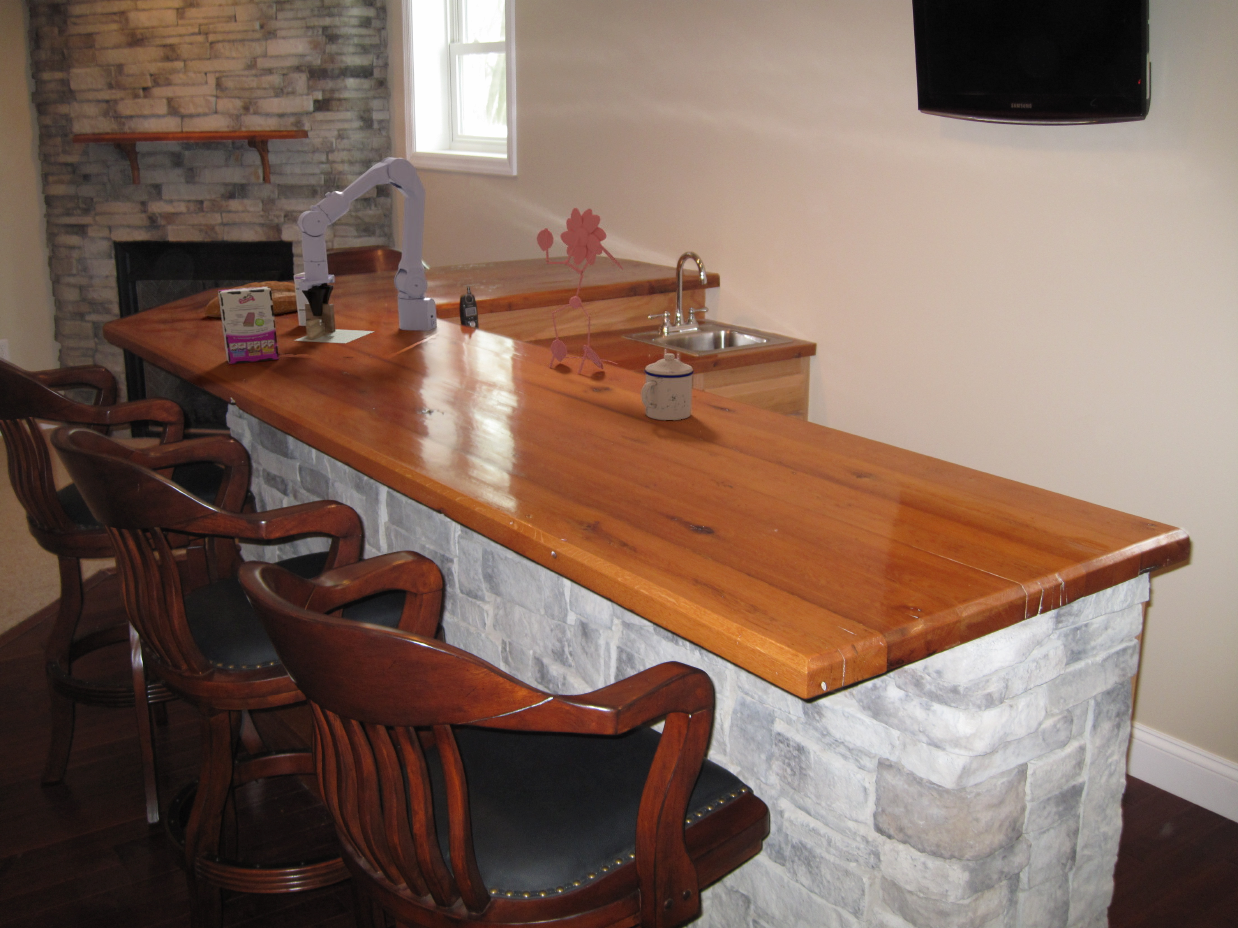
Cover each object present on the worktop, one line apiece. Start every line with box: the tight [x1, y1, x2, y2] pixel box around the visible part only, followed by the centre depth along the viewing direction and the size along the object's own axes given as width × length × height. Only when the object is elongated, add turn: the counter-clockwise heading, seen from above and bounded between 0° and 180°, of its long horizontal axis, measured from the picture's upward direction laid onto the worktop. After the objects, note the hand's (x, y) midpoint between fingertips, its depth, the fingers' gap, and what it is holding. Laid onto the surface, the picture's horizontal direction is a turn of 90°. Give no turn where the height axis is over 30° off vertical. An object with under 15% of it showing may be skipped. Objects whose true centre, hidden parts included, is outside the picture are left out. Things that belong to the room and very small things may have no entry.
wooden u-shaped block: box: [305, 319, 330, 340], centre depth 258 cm, size 1×12×5 cm, turn 167°
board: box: [293, 328, 375, 344], centre depth 258 cm, size 14×16×1 cm
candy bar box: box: [217, 287, 280, 365], centre depth 232 cm, size 11×5×16 cm, turn 117°
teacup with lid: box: [640, 352, 694, 421], centre depth 188 cm, size 12×9×12 cm
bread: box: [204, 280, 298, 319], centre depth 295 cm, size 18×35×9 cm, turn 135°
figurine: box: [536, 207, 624, 378], centre depth 226 cm, size 15×26×35 cm, turn 49°
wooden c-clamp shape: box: [305, 303, 336, 333], centre depth 257 cm, size 7×2×7 cm, turn 77°
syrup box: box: [293, 271, 321, 327], centre depth 272 cm, size 6×6×14 cm
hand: (319, 315), depth 257 cm, fingers closed on wooden c-clamp shape, 2 cm apart
